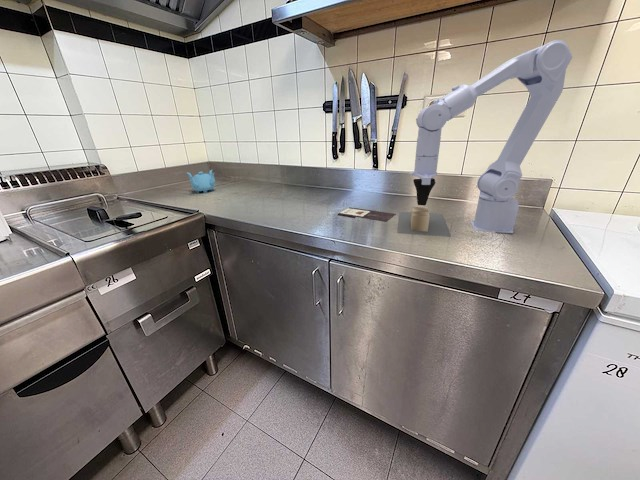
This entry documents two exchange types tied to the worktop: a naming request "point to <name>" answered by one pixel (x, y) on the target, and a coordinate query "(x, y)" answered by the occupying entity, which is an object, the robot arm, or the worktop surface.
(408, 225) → the rubber mat
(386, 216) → the chocolate bar
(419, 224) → the birch block
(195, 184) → the teapot
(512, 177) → the robot arm
